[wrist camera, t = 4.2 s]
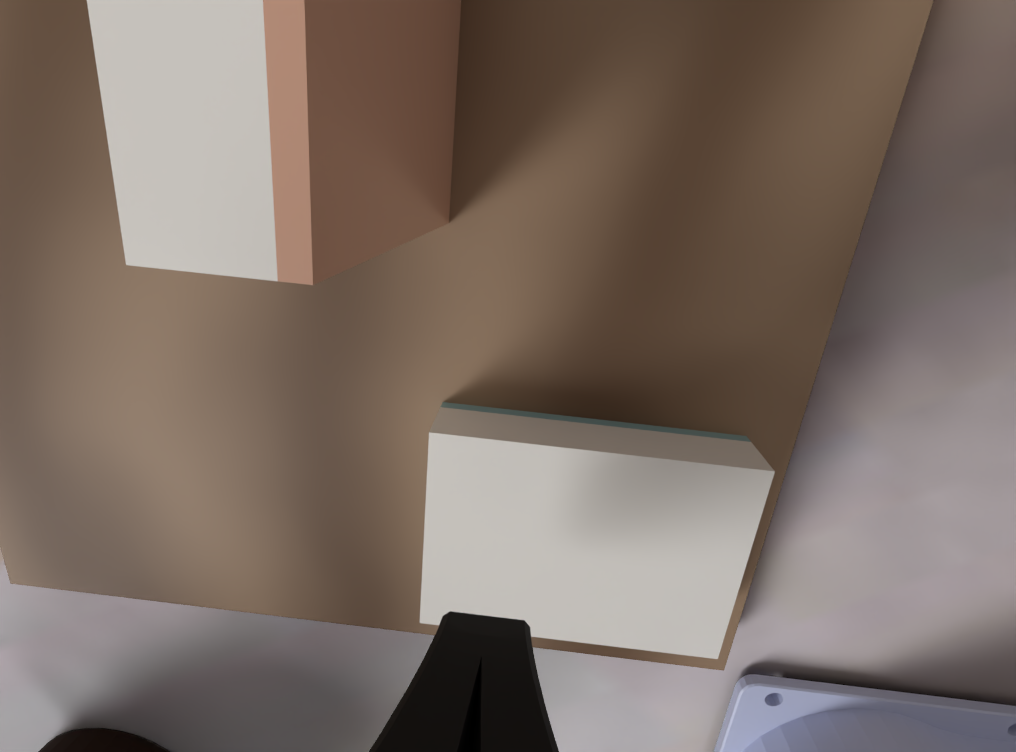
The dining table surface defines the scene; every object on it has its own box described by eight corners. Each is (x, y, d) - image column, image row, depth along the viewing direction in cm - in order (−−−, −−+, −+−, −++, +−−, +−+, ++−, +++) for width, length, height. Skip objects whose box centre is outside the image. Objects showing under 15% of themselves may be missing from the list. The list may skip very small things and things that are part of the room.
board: (938, -140, 10) (990, -183, 8) (710, 635, 16) (723, 670, 15) (-145, -234, 10) (-233, -286, 9) (47, 555, 16) (10, 583, 15)
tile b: (465, -74, 9) (283, -676, 3) (448, 223, 11) (313, 285, 4) (374, -83, 9) (-17, -695, 3) (371, 215, 11) (126, 265, 5)
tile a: (442, 401, 12) (746, 436, 12) (432, 576, 14) (698, 607, 14) (428, 432, 11) (774, 471, 11) (419, 623, 13) (717, 659, 13)
